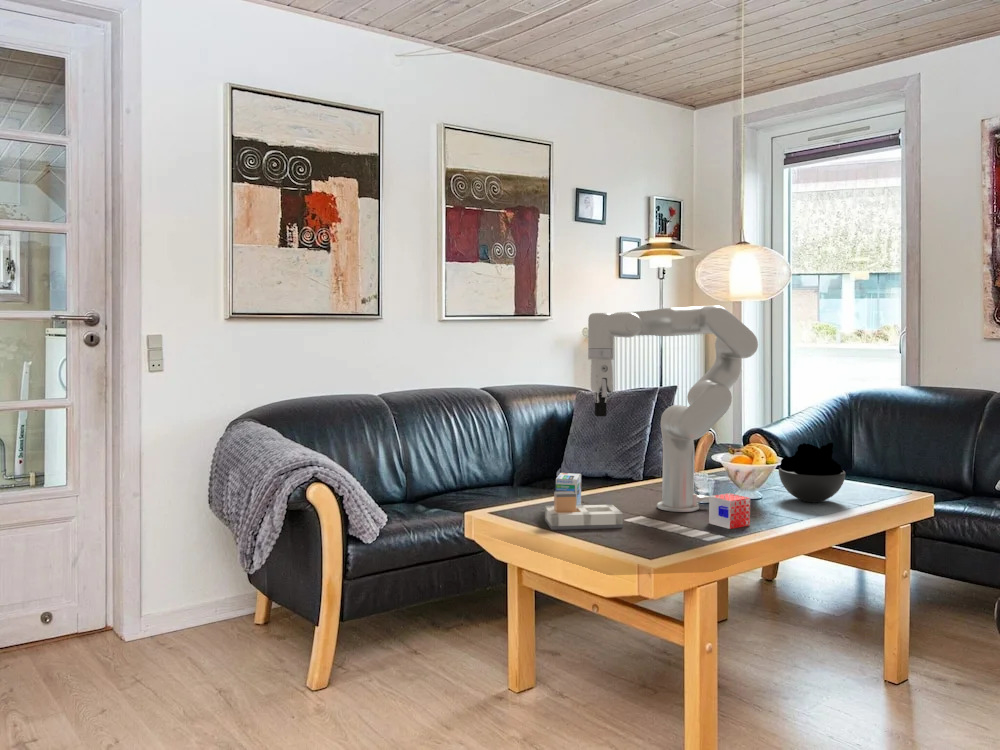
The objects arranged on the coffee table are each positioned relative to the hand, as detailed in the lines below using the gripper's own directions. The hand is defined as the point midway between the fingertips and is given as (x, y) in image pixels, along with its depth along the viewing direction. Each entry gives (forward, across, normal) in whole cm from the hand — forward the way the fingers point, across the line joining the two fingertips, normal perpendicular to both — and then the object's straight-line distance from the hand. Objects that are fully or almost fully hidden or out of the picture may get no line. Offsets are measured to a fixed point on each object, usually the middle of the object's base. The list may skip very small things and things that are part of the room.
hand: (600, 415), depth 260 cm
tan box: (+28, -14, +13) cm, 34 cm away
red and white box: (+29, -19, -33) cm, 48 cm away
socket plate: (+29, -14, +8) cm, 33 cm away
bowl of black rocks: (+29, +8, -70) cm, 76 cm away
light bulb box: (+29, +3, +9) cm, 31 cm away
